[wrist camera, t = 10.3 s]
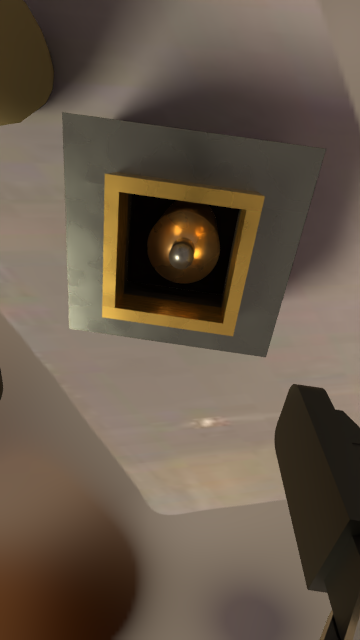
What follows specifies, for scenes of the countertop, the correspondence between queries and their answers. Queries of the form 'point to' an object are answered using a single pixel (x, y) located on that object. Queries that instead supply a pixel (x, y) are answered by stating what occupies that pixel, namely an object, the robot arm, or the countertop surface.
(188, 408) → the countertop surface
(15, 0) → the squeeze bottle
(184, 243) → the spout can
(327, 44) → the countertop surface
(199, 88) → the countertop surface
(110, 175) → the grey boxy block
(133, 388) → the countertop surface
